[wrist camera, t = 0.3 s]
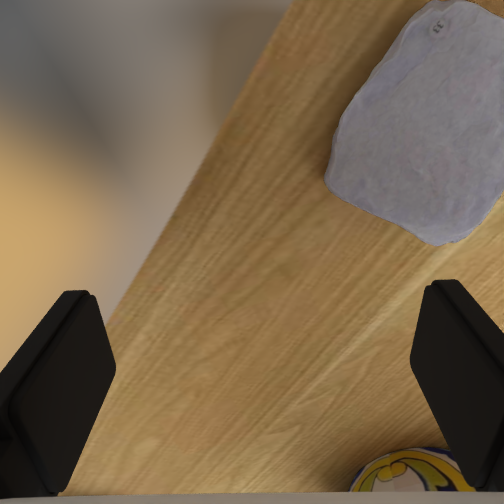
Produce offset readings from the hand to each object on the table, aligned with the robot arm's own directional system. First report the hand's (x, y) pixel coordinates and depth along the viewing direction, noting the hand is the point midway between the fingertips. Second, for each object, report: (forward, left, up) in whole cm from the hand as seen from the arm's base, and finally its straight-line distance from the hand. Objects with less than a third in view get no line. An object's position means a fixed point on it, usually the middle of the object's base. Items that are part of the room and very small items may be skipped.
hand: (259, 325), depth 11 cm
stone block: (+3, +9, -15) cm, 18 cm away
